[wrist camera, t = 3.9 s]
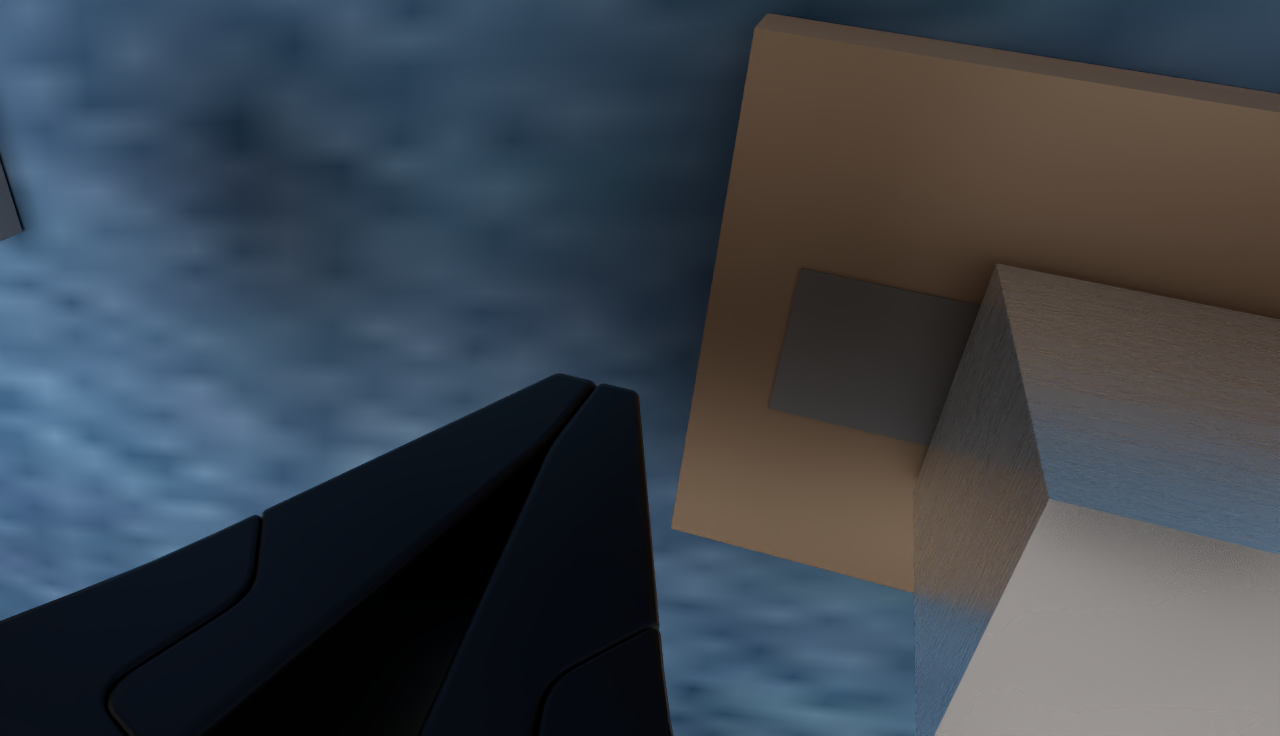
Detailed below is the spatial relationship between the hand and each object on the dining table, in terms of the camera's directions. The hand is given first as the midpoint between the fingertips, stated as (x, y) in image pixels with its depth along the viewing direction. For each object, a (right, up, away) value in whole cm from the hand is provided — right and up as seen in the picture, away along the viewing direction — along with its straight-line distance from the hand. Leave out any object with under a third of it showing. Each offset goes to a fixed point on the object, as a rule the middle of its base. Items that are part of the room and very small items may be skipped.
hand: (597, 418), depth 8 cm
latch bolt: (+6, 0, +1) cm, 7 cm away
